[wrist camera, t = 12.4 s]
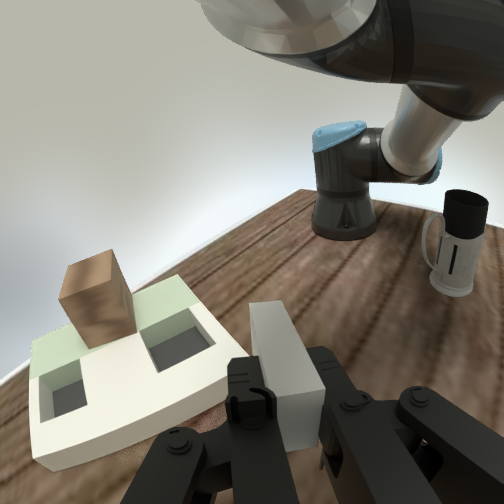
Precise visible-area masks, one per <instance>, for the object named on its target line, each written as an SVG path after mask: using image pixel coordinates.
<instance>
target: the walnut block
mask: <svg viewBox="0 0 504 504" xmlns="http://www.w3.org/2000/svg"><path fill="white" fill-rule="evenodd" d="M59 302H60V304H61V305H62V307H63V309H64V310H65V312H66V314H67V316H68V317H69V319H70V321H71V322H72V324H73V325H74V327H75V329H76V330H77V332H78V333H79V335H80V336H81V338H82V340H83V341H84V343H85V344H86V346H87V347H88V349H89V350H90V349H92V348H95V347H98V346H101V345H104V344H107V343H110V342H113V341H116V340H119V339H121V338H124V337H127V336H130V335H133V334H135V333H137V327H136V320H135V314H134V307H133V299H132V295H131V292H130V290H129V288H128V286H127V283H126V281H125V279H124V277H123V275H122V272H121V270H120V267H119V265H118V262H117V260H116V257H115V255H114V253H113V250H112V249H110V250H108V251H105V252H103V253H100V254H97V255H95V256H92V257H90V258H87V259H85V260H82V261H79V262H77V263H75V264H72V265H70V266H68V269H67V272H66V275H65V278H64V282H63V286H62V289H61V292H60V296H59Z"/></svg>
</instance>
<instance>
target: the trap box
mask: <svg viewBox="0 0 504 504" xmlns="http://www.w3.org/2000/svg"><path fill="white" fill-rule="evenodd" d="M132 299H133V307H134V314H135V320H136V327H137V333H135V334H133V335H130V336H127V337H124V338H121V339H119V340H116V341H113V342H110V343H107V344H104V345H101V346H98V347H95V348H92V349H90V350H89V349H88V347H87V346H86V344H85V343H84V341H83V340H82V338H81V336H80V335H79V333H78V332H77V330H76V329H75V327H74V325H73V324H72V323H69V324H67V325H66V326H63V327H61V328H59V329H57V330H54V331H52V332H50V333H48V334H46V335H44V336H42V337H40V338H37V339H35V340H33V341H32V347H31V359H30V377H29V417H30V434H31V446H32V455H33V459H34V460H36V461H37V462H39V463H40V464H42V465H43V466H45V467H46V468H48V469H49V470H51V471H53V472H56V471H60V470H63V469H67V468H70V467H73V466H76V465H80V464H83V463H86V462H89V461H91V460H94V459H97V458H100V457H103V456H106V455H108V454H111V453H113V452H116V451H119V450H121V449H124V448H126V447H129V446H131V445H134V444H136V443H138V442H141V441H143V440H145V439H148V438H150V437H152V436H154V435H157V434H159V433H161V432H163V431H165V430H167V429H170V428H172V427H174V426H176V425H178V424H180V423H182V422H184V421H186V420H188V419H190V418H192V417H194V416H196V415H198V414H200V413H202V412H204V411H205V410H207V409H209V408H211V407H213V406H215V405H217V404H218V403H220V402H222V401H224V400H226V396H227V395H228V380H227V365H228V364H229V362H230V360H231V359H232V358H236V357H248V356H249V355H248V354H247V353H246V352H245V351H244V350H243V349H242V348H241V347H240V345H239V344H238V343H237V342H236V341H235V340H234V339H233V338H232V337H231V336H230V335H229V333H228V332H227V331H226V330H225V329H224V328H223V327H222V326H221V325H220V323H219V322H218V321H217V320H216V319H215V318H214V317H213V315H212V314H211V313H210V312H209V311H208V310H207V309H206V307H205V306H204V305H203V304H202V303H201V302H200V300H199V299H198V298H197V297H196V296H195V295H194V293H193V292H192V291H191V290H190V289H189V287H188V286H187V285H186V284H185V283H184V281H183V280H182V279H181V278H180V277H179V275H178V274H177V275H174V276H172V277H170V278H168V279H165V280H163V281H161V282H159V283H157V284H154V285H152V286H150V287H148V288H146V289H143V290H141V291H139V292H137V293H135V294H132Z"/></svg>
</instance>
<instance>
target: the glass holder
mask: <svg viewBox="0 0 504 504" xmlns="http://www.w3.org/2000/svg"><path fill="white" fill-rule="evenodd" d="M488 205H489V202H488V201H487V199H485V198H484V197H483V196H481V195H479V194H477V193H474V192H471V191H467V190H460V189H453V190H448V191H446V193H445V201H444V210H443V216H442V215H441V214H439V213H434V214H432V215H431V216H429V217H428V219H427V220H426V222H425V224H424V226H423V231H422V240H421V245H422V253H423V257H424V260H425V262H426V263H427V264H428V265H429V266H430V267H431V268H432V269H433V270H432V272H431V273H430V276H429V280H430V283H431V284H432V286H433V287H434V288H435V289H436V290H437V291H439V292H440V293H442V294H445V295H447V296H451V297H463V296H466V295H468V294H470V293H471V292H472V290H473V279H474V275H475V272H476V268H477V264H478V261H479V257H480V252H481V248H482V244H483V239H484V234H485V227H486V218H487V211H488ZM438 216H439V217H440V219H441V227H440V234H439V240H438V247H437V252H436V258H435V263H434V267H433V266H432V265H431V263H430V262H429V260H428V258H427V253H426V234H427V229H428V226H429V224H430V222H431V221H432V220H433V219H434V218H435V217H438Z"/></svg>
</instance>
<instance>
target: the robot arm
mask: <svg viewBox="0 0 504 504" xmlns="http://www.w3.org/2000/svg"><path fill="white" fill-rule="evenodd" d="M196 1H198V2H200V3H201V6H202V9H203V11H204V14H205V15H206V17H207V19H208V20H209V22H210V23H211V24H212V25H213V26H214V28H215V29H216V30H218V31H219V32H220V33H221V34H222V35H223V36H225V37H227V38H228V39H230V40H231V41H233V42H235V43H237V44H239V45H241V46H243V47H245V48H247V49H249V50H252V51H254V52H256V53H258V54H261V55H263V56H266V57H268V58H271V59H274V60H277V61H280V62H283V63H286V64H289V65H293V66H296V67H300V68H304V69H308V70H312V71H315V72H319V73H323V74H326V75H331V76H336V77H341V78H345V79H351V80H357V81H365V82H376V83H396V84H403V87H402V92H401V95H400V99H399V103H398V107H397V111H396V115H395V118H394V120H392V121H390V122H389V123H388V124H387V125H386V127H385V128H367V125H366V123H365V122H364V121H350V122H342V123H336V124H331V125H327V126H323V127H320V128H318V129H316V130H315V131H314V133H313V135H312V140H313V150H312V152H313V153H314V161H315V173H316V184H317V198H316V202H315V206H314V212H313V214H312V218H311V221H312V229H313V231H314V232H315V233H317V234H318V235H320V236H322V237H325V238H329V239H334V240H355V239H360V238H364V237H366V236H369V235H370V234H372V233H373V232H374V231H375V230H376V222H377V218H376V214H375V212H374V208H373V205H372V201H371V198H370V195H369V183H370V182H384V183H408V184H418V185H424V184H430V183H433V182H434V181H435V180H436V179H437V178H438V176H439V174H440V171H439V170H440V169H441V166H442V149H441V146H442V145H443V143H444V142H445V141H446V140H447V139H448V138H449V137H450V136H451V135H452V133H453V132H454V131H455V130H456V129H457V128H458V127H459V125H460V124H461V123H462V122H463V121H477V120H480V119H483V118H484V117H486V116H487V115H489V114H490V113H491V112H492V111H493V110H494V109H495V108H496V107H497V106H498V105H499V104H500V103H501V102H502V101H504V0H196ZM249 309H250V324H251V339H252V353H253V356H248V357H236V358H232V359H231V360H230V362H229V364H228V365H227V380H228V395H227V396H226V400H225V407H226V413H227V420H226V421H225V422H224V423H223V424H222V425H221V426H219V427H218V428H216V429H213V430H211V431H207V432H204V433H200V434H199V433H198V432H196V431H195V430H193V429H190V428H187V427H174V428H170V429H167V430H165V431H163V432H161V433H160V434H159V435H158V436H157V438H156V439H155V441H154V442H153V444H152V446H151V448H150V450H149V451H148V453H147V455H146V457H145V459H144V461H143V462H142V464H141V466H140V468H139V470H138V472H137V473H136V475H135V477H134V479H133V481H132V482H131V484H130V486H129V488H128V490H127V492H126V493H125V495H124V497H123V499H122V501H121V502H120V504H214V503H215V499H216V496H217V492H220V491H223V490H226V489H230V488H233V498H234V504H299V500H298V496H297V493H296V489H295V485H294V482H293V478H292V474H291V470H290V466H289V463H288V459H287V455H286V452H290V451H296V450H301V449H307V448H312V447H317V446H318V441H319V438H320V441H321V443H322V446H323V449H322V454H321V460H320V464H319V466H320V470H322V469H323V467H324V465H325V467H326V470H327V473H328V476H329V478H330V481H331V484H332V486H333V489H334V492H335V494H336V497H337V500H338V503H339V504H504V438H503V437H502V436H500V435H499V434H497V433H496V432H494V431H493V430H491V429H490V428H488V427H487V426H485V425H484V424H482V423H481V422H479V421H478V420H476V419H475V418H473V417H472V416H470V415H469V414H467V413H466V412H464V411H463V410H461V409H460V408H458V407H457V406H455V405H454V404H453V403H451V402H450V401H448V400H447V399H445V398H444V397H442V396H441V395H439V394H438V393H436V392H435V391H433V390H431V389H429V388H427V387H422V386H414V387H410V388H407V389H405V390H404V391H403V392H402V393H401V396H400V398H399V400H386V401H378V400H374V399H373V398H372V397H371V396H370V395H369V394H368V393H366V392H363V391H361V390H356V388H355V386H354V385H353V383H352V382H351V380H350V379H349V377H348V375H347V374H346V372H345V371H344V369H343V368H342V367H341V365H340V363H339V361H337V358H336V357H335V355H334V354H333V352H332V351H330V350H329V349H327V348H325V347H324V346H319V347H313V348H306V349H305V347H304V345H303V343H302V341H301V339H300V337H299V335H298V333H297V331H296V329H295V327H294V325H293V323H292V321H291V319H290V317H289V315H288V313H287V311H286V309H285V307H284V305H283V303H282V301H281V300H278V301H268V302H258V303H249ZM423 439H424V440H425V441H426V442H427V443H426V442H424V441H423Z"/></svg>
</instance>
